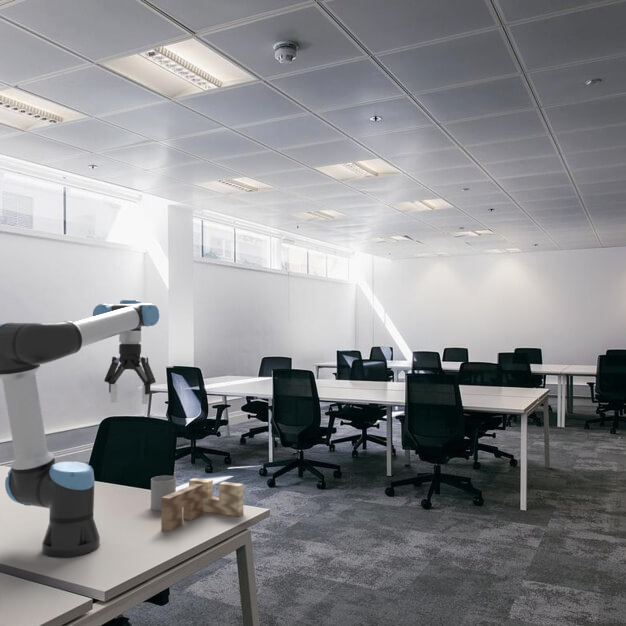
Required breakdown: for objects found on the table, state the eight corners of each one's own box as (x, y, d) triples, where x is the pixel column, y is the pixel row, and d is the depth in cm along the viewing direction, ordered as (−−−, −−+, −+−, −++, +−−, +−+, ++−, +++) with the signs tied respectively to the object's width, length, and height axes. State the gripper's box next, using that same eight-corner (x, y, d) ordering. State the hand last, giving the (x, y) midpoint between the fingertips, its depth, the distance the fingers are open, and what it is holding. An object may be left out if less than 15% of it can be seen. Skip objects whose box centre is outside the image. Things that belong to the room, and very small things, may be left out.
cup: (178, 504, 210) (179, 475, 211) (171, 511, 202) (171, 481, 202) (155, 503, 211) (156, 475, 211) (147, 510, 203) (147, 481, 203)
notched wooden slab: (243, 513, 199) (243, 484, 199) (238, 516, 196) (238, 486, 197) (193, 506, 207) (194, 478, 207) (188, 509, 204) (188, 480, 205)
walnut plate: (195, 513, 199) (195, 483, 200) (202, 514, 198) (202, 484, 198) (161, 529, 183) (161, 497, 183) (169, 531, 182) (169, 498, 182)
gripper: (165, 343, 210) (165, 403, 209) (108, 342, 219) (108, 400, 218) (153, 343, 203) (152, 405, 202) (94, 343, 212) (93, 402, 211)
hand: (129, 403), depth 210 cm, fingers open, 13 cm apart
